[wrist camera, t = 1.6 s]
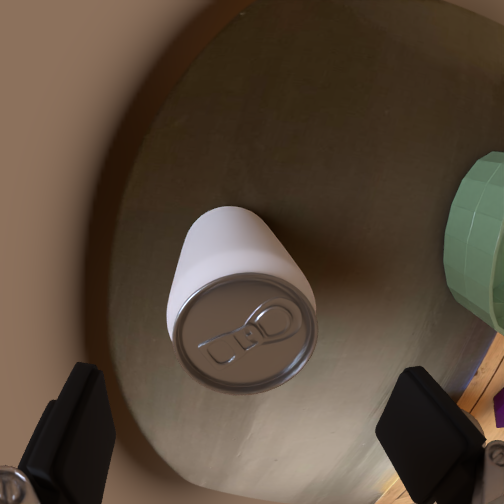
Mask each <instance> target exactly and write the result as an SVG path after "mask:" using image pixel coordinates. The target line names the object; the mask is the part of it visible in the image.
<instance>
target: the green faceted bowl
mask: <svg viewBox="0 0 504 504" xmlns="http://www.w3.org/2000/svg"><path fill="white" fill-rule="evenodd" d="M443 263H444V269H445V275H446V281H447V285H448V287H449V289H450V291H451V293H452V295H453V296H454V298H455V300H456V301H457V302H458V303H459V304H461V305H462V306H464V307H465V308H466V309H468V310H469V311H470V312H472V313H473V314H475V315H476V316H477V317H479V318H480V319H481V320H483V321H484V322H485V323H487V324H488V325H489V326H491V327H492V328H493V329H495V330H496V331H497V332H499V333H500V334H502V335H503V336H504V152H503V151H492V152H491V153H489V154H487V155H486V156H484V157H482V158H480V159H479V160H477V161H476V163H475V164H474V165H473V167H472V168H471V169H470V170H469V172H468V173H467V174H466V175H465V177H464V178H463V179H462V182H461V184H460V186H459V189H458V191H457V193H456V195H455V198H454V200H453V202H452V205H451V209H450V213H449V218H448V222H447V226H446V230H445V237H444V256H443Z"/></svg>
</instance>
